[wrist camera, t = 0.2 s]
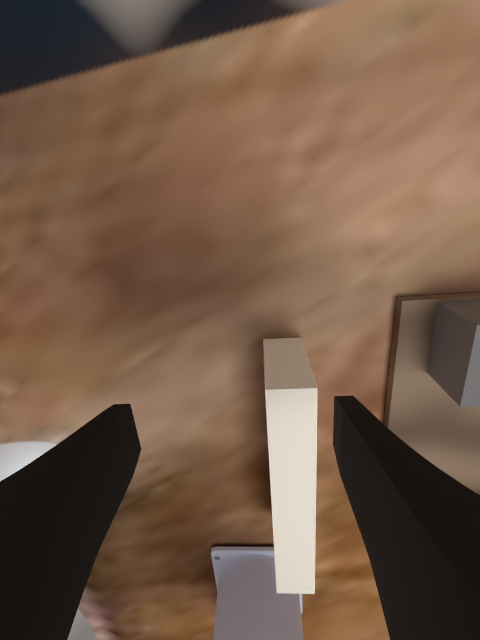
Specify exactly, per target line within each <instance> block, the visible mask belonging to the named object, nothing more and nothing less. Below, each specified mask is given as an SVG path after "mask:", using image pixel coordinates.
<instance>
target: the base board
mask: <svg viewBox="0 0 480 640" xmlns="http://www.w3.org/2000/svg"><path fill="white" fill-rule="evenodd" d="M468 300H480V292H473V293H456V294H439V295H422V296H405V297H397V299H396V308H395V318H394V327H393V337H392V346H391V356H390V365H389V375H388V385H387V394H386V404H385V413H384V423H383V424H384V425H385V426H386V427H387V428H388V429H390V430H391V431H392V432H393V433H394V434H395V435H397V436H398V437H399V438H400V439H401V440H402V441H404V442H405V443H406V444H407V445H409V446H410V447H411V448H412V449H414V450H415V451H416V452H418V453H419V454H420V455H421V456H423V457H424V458H425V459H427V460H428V461H429V462H431V463H432V464H434V465H435V466H436V467H438V468H439V469H441V470H442V471H444V472H445V473H447V474H448V475H449V476H451V477H452V478H454V479H455V480H457V481H458V482H460V483H461V484H463V485H464V486H466V487H468V488H469V489H471V490H472V491H474V492H475V493H477V494H479V495H480V406H474V407H460V406H459V405H458V404H457V403H456V402H455V401H454V400H453V399H452V398H451V397H450V396H449V395H448V394H447V393H446V392H445V391H444V390H443V389H442V388H441V387H440V386H439V385H438V384H437V383H436V382H435V381H434V380H433V379H432V377H431V376H430V375H429V374H428V373H427V368H428V361H429V355H430V349H431V342H432V336H433V329H434V323H435V316H436V310H437V303H438V302H451V301H468Z"/></svg>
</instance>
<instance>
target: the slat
mask: <svg viewBox="0 0 480 640" xmlns="http://www.w3.org/2000/svg"><path fill="white" fill-rule="evenodd" d="M263 347H264V375H265V398H266V416H267V433H268V450H269V468H270V485H271V503H272V520H273V537H274V555H275V572H276V590H277V593H292V594H315V532H316V460H317V385H316V382H315V378H314V375H313V372H312V369H311V366H310V363H309V359H308V356H307V353H306V350H305V347H304V343H303V340H302V337H299V338H278V339H263Z"/></svg>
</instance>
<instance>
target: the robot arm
mask: <svg viewBox="0 0 480 640" xmlns="http://www.w3.org/2000/svg"><path fill="white" fill-rule="evenodd" d="M333 446H334V451H335V455H336V460H337V464H338V468H339V472H340V475H341V478H342V481H343V484H344V487H345V490H346V493H347V495H348V498H349V501H350V504H351V507H352V510H353V512H354V515H355V518H356V521H357V524H358V526H359V529H360V532H361V535H362V538H363V540H364V543H365V546H366V549H367V553H368V556H369V559H370V562H371V566H372V570H373V574H374V577H375V581H376V585H377V589H378V593H379V596H380V600H381V604H382V608H383V612H384V616H385V620H386V624H387V628H388V632H389V636H390V640H480V495H479V494H477V493H475V492H474V491H472V490H471V489H469V488H468V487H466V486H464V485H463V484H461V483H460V482H458V481H457V480H455V479H454V478H452V477H451V476H449V475H448V474H447V473H445V472H444V471H442V470H441V469H439V468H438V467H436V466H435V465H434V464H432V463H431V462H429V461H428V460H427V459H425V458H424V457H423V456H421V455H420V454H419V453H418V452H416V451H415V450H414V449H412V448H411V447H410V446H409V445H407V444H406V443H405V442H404V441H402V440H401V439H400V438H399V437H398V436H397V435H395V434H394V433H393V432H392V431H391V430H390V429H388V428H387V427H386V426H385V425H384V424H383V423H382V422H381V421H379V420H378V419H377V418H376V417H375V416H374V415H373V414H372V413H371V412H370V411H369V410H368V409H367V408H366V407H364V406H363V405H362V404H361V403H360V402H359V401H358V400H357V399H356V398H355V397H354V396H334V430H333ZM140 451H141V446H140V442H139V438H138V434H137V430H136V426H135V422H134V418H133V414H132V410H131V405H130V404H114V405H112V406H111V407H109V408H108V409H106V410H105V411H103V412H102V413H100V414H99V415H98V416H96V417H95V418H93V419H92V420H91V421H89V422H88V423H87V424H85V425H84V426H83V427H81V428H80V429H78V430H77V431H76V432H74V433H73V434H72V435H70V436H69V437H67V438H66V439H65V440H63V441H62V442H60V443H59V444H58V445H56V446H55V447H53V448H52V449H50V450H49V451H47V452H46V453H44V454H43V455H42V456H40V457H39V458H37V459H36V460H34V461H33V462H31V463H30V464H28V465H27V466H25V467H23V468H22V469H20V470H19V471H17V472H15V473H14V474H12V475H11V476H9V477H7V478H6V479H4V480H2V481H1V482H0V640H67V639H68V635H69V633H70V630H71V627H72V624H73V620H74V618H75V615H76V612H77V609H78V606H79V603H80V600H81V597H82V594H83V591H84V589H85V586H86V583H87V580H88V578H89V575H90V572H91V569H92V567H93V564H94V561H95V558H96V556H97V554H98V551H99V549H100V547H101V544H102V542H103V540H104V538H105V536H106V533H107V531H108V529H109V527H110V525H111V523H112V520H113V518H114V516H115V514H116V512H117V510H118V508H119V505H120V503H121V501H122V499H123V497H124V495H125V492H126V490H127V488H128V486H129V484H130V481H131V479H132V477H133V474H134V471H135V468H136V465H137V461H138V458H139V455H140ZM211 558H212V563H213V569H214V575H215V581H216V587H217V601H216V611H215V620H214V630H213V639H212V640H304V639H303V629H302V619H301V614H302V594H292V593H277V590H276V572H275V555H274V547H213V548H212V549H211Z"/></svg>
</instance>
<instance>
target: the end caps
mask: <svg viewBox="0 0 480 640" xmlns="http://www.w3.org/2000/svg"><path fill="white" fill-rule="evenodd" d="M427 373H428V374H429V375H430V376H431V377H432V379H433V380H434V381H435V382H436V383H437V384H438V385H439V386H440V387H441V388H442V389H443V390H444V391H445V392H446V393H447V394H448V395H449V396H450V397H451V398H452V399H453V400H454V401H455V402H456V403H457V404H458V405H459V406H460V407H474V406H480V300H468V301H451V302H438V303H437V310H436V316H435V323H434V329H433V336H432V342H431V349H430V355H429V361H428V368H427Z"/></svg>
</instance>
